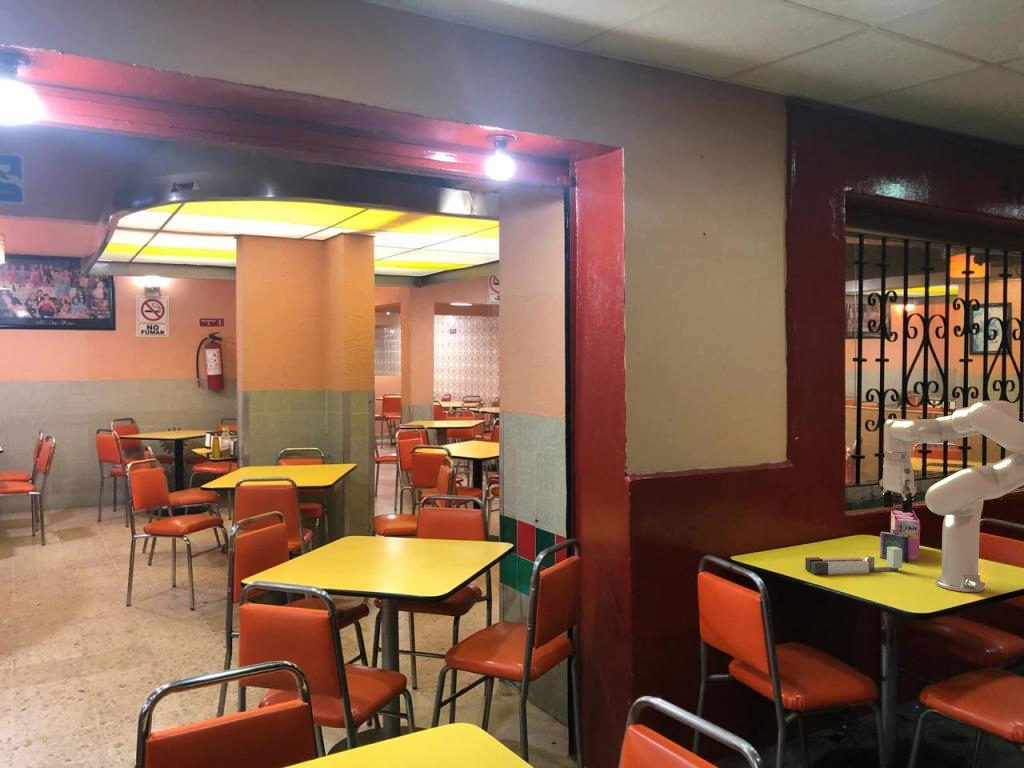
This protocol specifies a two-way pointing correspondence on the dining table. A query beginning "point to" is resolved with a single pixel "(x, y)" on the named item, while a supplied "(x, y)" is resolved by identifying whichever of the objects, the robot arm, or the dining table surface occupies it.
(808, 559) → the tong leg
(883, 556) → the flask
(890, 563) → the white upright block
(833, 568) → the base
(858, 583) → the dining table surface
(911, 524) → the gum box
